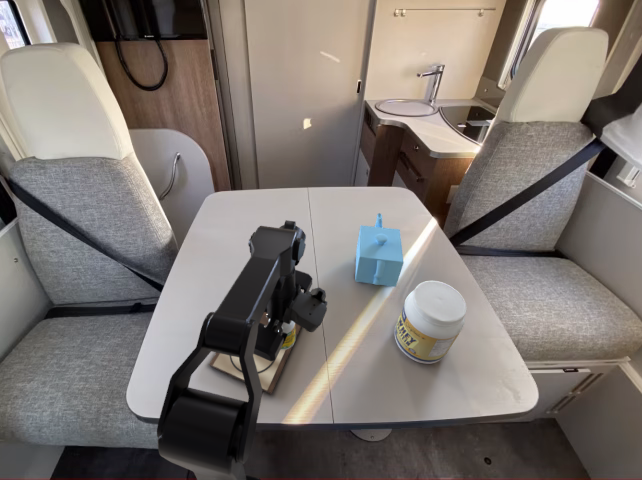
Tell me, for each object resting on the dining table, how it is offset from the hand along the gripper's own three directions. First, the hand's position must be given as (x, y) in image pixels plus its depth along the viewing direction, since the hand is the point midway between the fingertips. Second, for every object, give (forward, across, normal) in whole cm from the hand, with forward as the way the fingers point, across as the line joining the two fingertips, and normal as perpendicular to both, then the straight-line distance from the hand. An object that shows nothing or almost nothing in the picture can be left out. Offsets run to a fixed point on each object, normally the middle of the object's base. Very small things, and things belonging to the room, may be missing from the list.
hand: (282, 332), depth 64 cm
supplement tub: (+13, +18, -28) cm, 36 cm away
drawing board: (+12, +1, +8) cm, 15 cm away
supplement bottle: (+3, 0, 0) cm, 3 cm away
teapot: (+13, +37, -13) cm, 42 cm away
